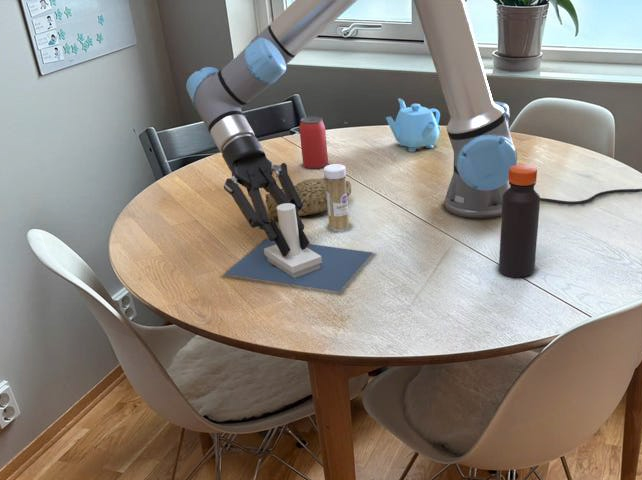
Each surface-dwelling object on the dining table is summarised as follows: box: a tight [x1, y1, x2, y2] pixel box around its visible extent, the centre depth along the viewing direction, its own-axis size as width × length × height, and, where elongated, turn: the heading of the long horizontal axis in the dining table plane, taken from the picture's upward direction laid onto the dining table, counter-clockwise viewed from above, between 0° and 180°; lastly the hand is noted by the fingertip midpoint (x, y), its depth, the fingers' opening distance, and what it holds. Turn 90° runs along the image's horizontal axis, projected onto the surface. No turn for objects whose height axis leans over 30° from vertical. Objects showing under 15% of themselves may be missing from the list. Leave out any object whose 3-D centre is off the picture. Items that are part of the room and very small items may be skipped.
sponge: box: [264, 177, 352, 221], centre depth 163 cm, size 13×8×20 cm
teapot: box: [385, 98, 441, 153], centre depth 199 cm, size 15×14×11 cm
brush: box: [264, 203, 322, 278], centre depth 138 cm, size 7×11×12 cm, turn 40°
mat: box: [224, 238, 373, 293], centre depth 142 cm, size 24×17×1 cm
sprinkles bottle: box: [323, 163, 350, 231], centre depth 153 cm, size 5×5×13 cm
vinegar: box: [498, 164, 541, 279], centre depth 133 cm, size 7×7×20 cm
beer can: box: [299, 115, 329, 170], centre depth 187 cm, size 7×7×12 cm
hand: (296, 249), depth 138 cm, fingers closed on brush, 4 cm apart
